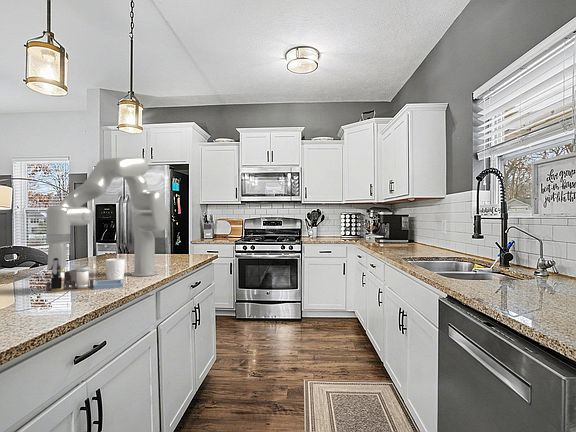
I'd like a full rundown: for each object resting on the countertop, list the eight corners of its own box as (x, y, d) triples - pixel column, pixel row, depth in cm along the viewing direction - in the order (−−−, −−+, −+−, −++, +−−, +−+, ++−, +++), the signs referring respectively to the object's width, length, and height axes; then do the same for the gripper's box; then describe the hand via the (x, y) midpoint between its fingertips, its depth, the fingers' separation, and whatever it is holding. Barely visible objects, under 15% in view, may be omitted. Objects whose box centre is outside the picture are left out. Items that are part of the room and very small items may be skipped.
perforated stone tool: (78, 282, 152) (78, 266, 152) (90, 282, 153) (91, 266, 153) (58, 289, 137) (58, 272, 138) (72, 289, 138) (72, 272, 138)
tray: (95, 288, 139) (95, 281, 139) (122, 286, 143) (122, 279, 143) (93, 293, 130) (93, 285, 130) (122, 291, 134) (122, 283, 134)
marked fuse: (52, 289, 130) (52, 268, 130) (65, 288, 132) (65, 267, 132) (50, 291, 126) (50, 269, 126) (63, 290, 128) (63, 268, 128)
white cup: (105, 280, 156) (106, 258, 156) (125, 279, 160) (125, 258, 160) (104, 283, 149) (105, 260, 149) (124, 282, 152) (125, 259, 153)
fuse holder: (49, 292, 132) (49, 280, 132) (93, 288, 139) (93, 277, 139) (43, 297, 123) (44, 284, 123) (91, 293, 130) (92, 281, 130)
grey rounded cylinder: (76, 287, 133) (77, 266, 134) (89, 286, 135) (89, 266, 135) (75, 289, 130) (75, 268, 130) (88, 288, 132) (88, 267, 132)
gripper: (50, 238, 135) (50, 283, 135) (41, 240, 120) (40, 292, 120) (73, 237, 139) (72, 282, 138) (66, 240, 123) (66, 290, 123)
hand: (57, 286), depth 129 cm, fingers open, 6 cm apart
